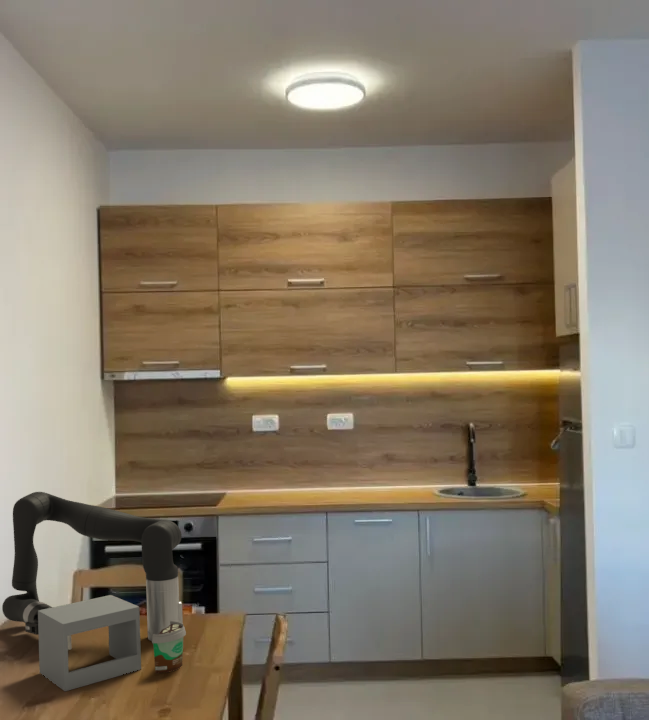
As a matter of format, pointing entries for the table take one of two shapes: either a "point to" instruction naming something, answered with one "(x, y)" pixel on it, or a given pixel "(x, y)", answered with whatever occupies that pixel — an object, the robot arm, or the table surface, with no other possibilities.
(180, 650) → the food container
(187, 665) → the table surface
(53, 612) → the open box frame
